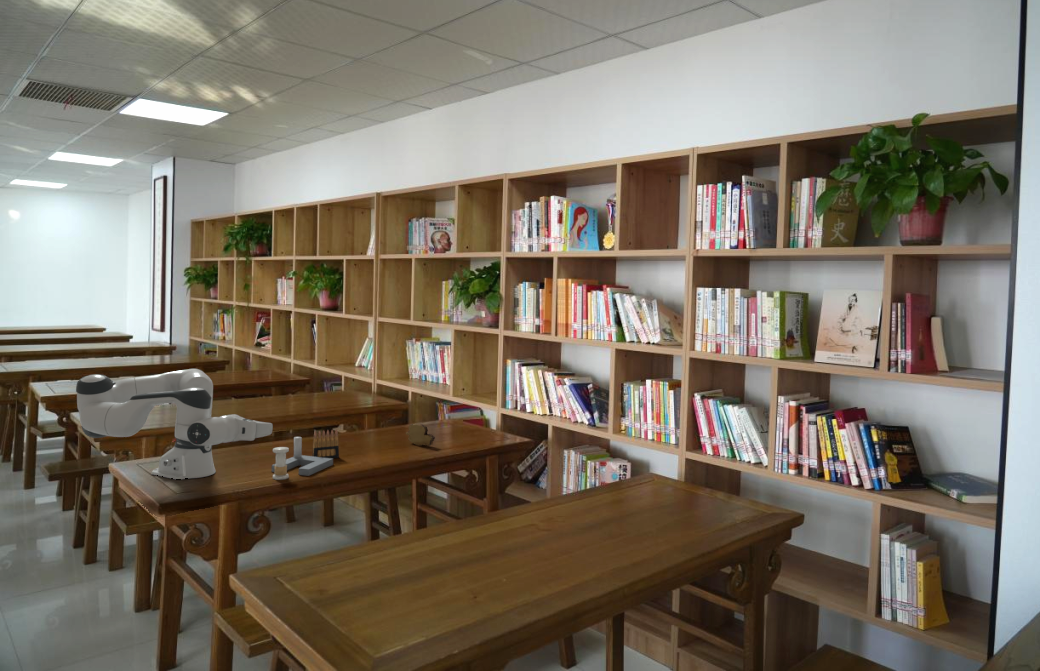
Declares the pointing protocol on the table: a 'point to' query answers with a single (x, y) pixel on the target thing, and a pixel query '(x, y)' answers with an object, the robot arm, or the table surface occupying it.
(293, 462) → the notched board
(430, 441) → the wooden carving
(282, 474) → the bobbin
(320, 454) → the ammunition clip
